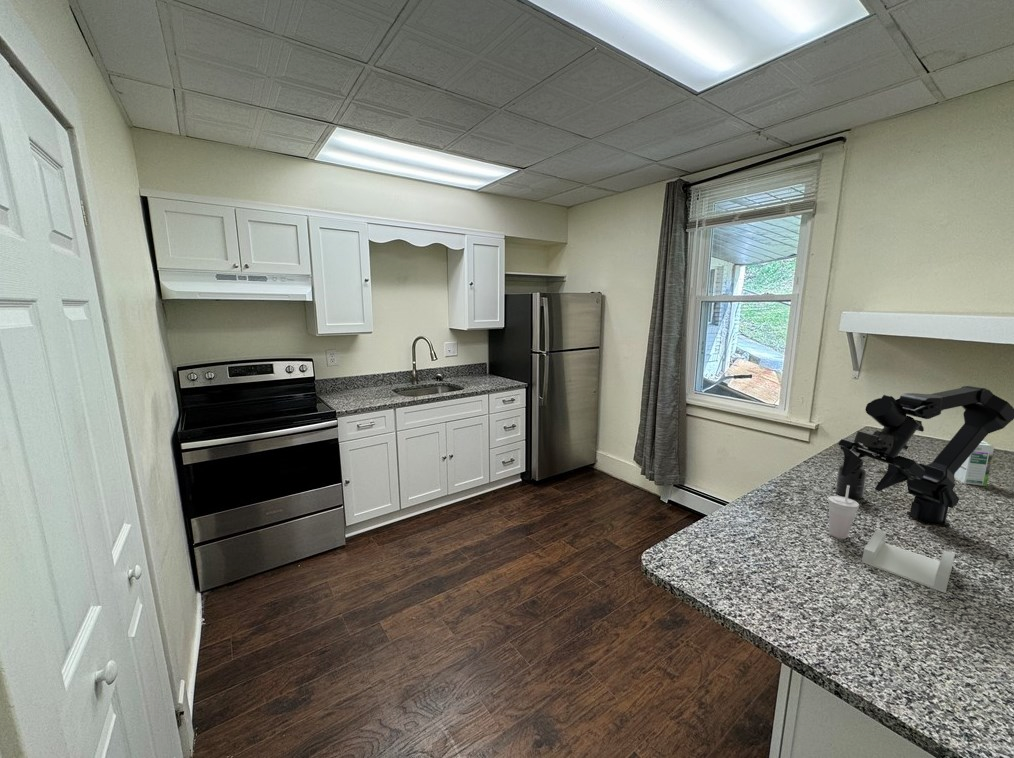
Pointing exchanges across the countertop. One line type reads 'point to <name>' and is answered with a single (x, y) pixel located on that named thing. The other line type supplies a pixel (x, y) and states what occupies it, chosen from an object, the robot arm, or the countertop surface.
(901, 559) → the sheet metal channel
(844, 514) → the smoothie
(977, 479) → the syrup box
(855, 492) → the supplement bottle
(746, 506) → the countertop surface
